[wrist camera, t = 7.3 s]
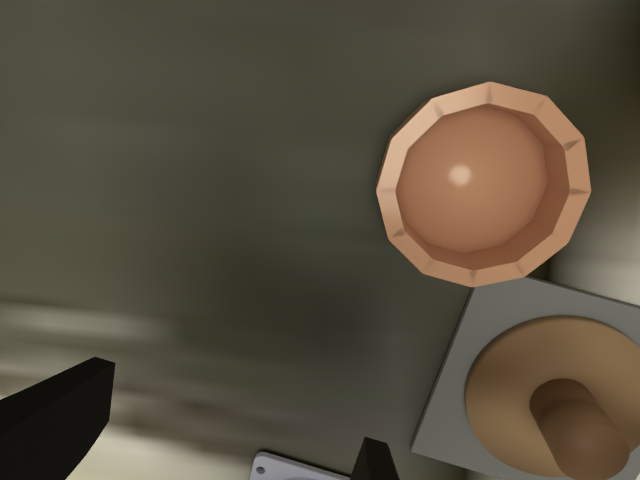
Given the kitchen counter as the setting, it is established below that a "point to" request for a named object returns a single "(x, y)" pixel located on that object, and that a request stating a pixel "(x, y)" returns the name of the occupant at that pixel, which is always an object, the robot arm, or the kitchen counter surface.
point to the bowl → (483, 184)
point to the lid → (557, 397)
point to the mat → (473, 335)
